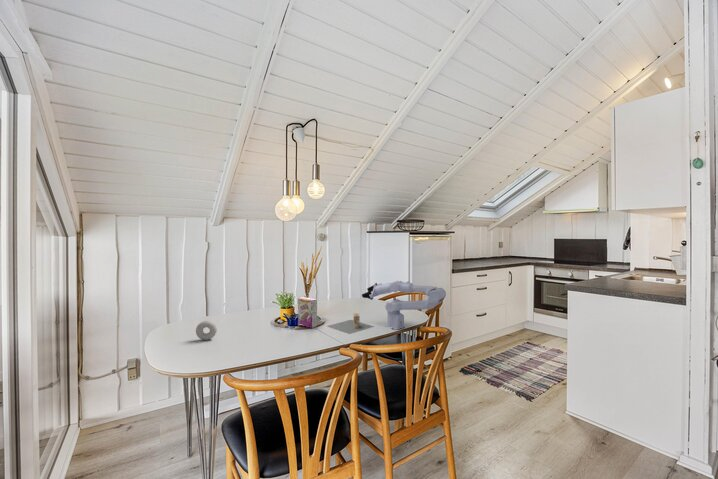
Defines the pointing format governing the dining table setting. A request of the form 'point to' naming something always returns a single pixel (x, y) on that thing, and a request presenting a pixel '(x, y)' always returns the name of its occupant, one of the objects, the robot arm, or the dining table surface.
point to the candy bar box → (307, 312)
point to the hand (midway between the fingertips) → (365, 292)
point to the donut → (206, 335)
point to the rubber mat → (349, 327)
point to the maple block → (356, 321)
